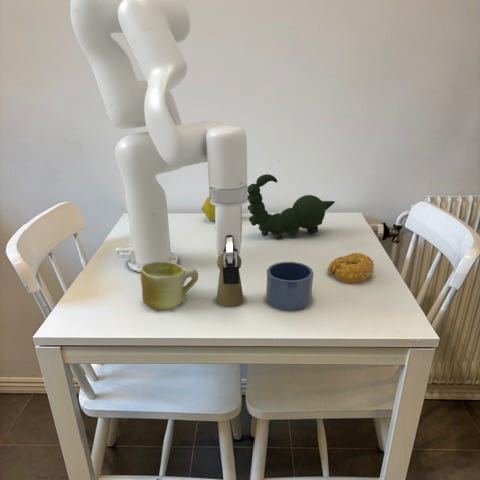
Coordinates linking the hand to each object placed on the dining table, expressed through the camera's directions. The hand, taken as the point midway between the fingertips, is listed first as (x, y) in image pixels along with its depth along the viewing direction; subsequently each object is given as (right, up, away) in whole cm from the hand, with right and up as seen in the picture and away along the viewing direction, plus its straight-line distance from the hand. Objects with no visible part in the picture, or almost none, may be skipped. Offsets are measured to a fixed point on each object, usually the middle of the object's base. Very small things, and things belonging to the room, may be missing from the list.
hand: (231, 273), depth 103 cm
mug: (-13, -6, +4) cm, 15 cm away
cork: (0, -6, +4) cm, 7 cm away
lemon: (-5, +21, +48) cm, 53 cm away
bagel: (+29, +1, +14) cm, 32 cm away
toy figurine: (+16, +15, +37) cm, 43 cm away
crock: (+13, -5, +4) cm, 14 cm away
